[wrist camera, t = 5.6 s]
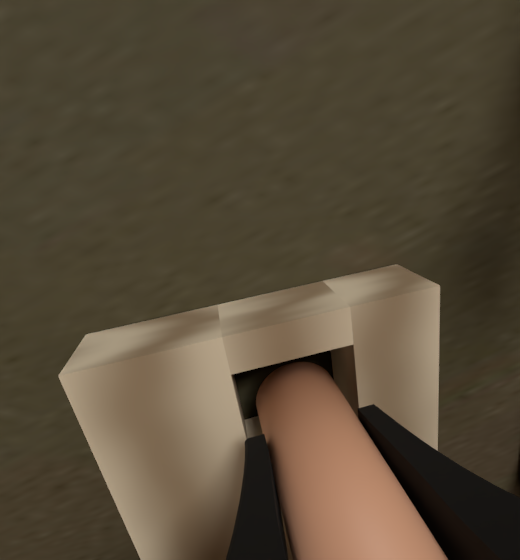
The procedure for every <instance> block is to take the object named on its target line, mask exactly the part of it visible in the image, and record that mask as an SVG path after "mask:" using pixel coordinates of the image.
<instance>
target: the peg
mask: <svg viewBox="0 0 520 560" xmlns="http://www.w3.org/2000/svg"><path fill="white" fill-rule="evenodd" d="M256 407H257V412H258V416H259V420H260V424H261V428H262V432H263V434H264V435H265V439H266V443H267V447H268V451H269V455H270V460H271V465H272V469H273V475H274V481H275V486H276V490H277V494H278V499H279V503H280V507H281V511H282V515H283V519H284V524H285V528H286V532H287V536H288V540H289V544H290V548H291V553H292V557H293V560H448V558H447V557H446V555H445V554H444V552H443V550H442V549H441V547H440V546H439V544H438V543H437V541H436V539H435V538H434V536H433V535H432V533H431V532H430V530H429V528H428V527H427V525H426V524H425V522H424V521H423V519H422V518H421V516H420V514H419V513H418V511H417V510H416V508H415V507H414V505H413V503H412V502H411V500H410V499H409V497H408V496H407V494H406V492H405V491H404V489H403V488H402V486H401V485H400V483H399V482H398V480H397V478H396V477H395V475H394V474H393V472H392V471H391V469H390V467H389V466H388V464H387V463H386V461H385V460H384V458H383V457H382V455H381V453H380V452H379V450H378V449H377V447H376V446H375V444H374V442H373V441H372V439H371V438H370V436H369V435H368V433H367V431H366V430H365V428H364V427H363V425H362V424H361V422H360V421H359V419H358V417H357V416H356V414H355V413H354V411H353V410H352V408H351V406H350V405H349V403H348V402H347V400H346V399H345V397H344V395H343V394H342V392H341V391H340V389H339V388H338V386H337V385H336V383H335V381H334V380H333V378H332V377H331V375H330V374H329V373H328V372H327V371H326V370H325V369H324V368H323V367H321V366H319V365H317V364H314V363H311V362H293V363H289V364H286V365H283V366H281V367H279V368H277V369H276V370H274V371H273V372H272V373H270V374H269V375H268V376H267V377H266V378H265V379H264V381H263V382H262V384H261V385H260V387H259V390H258V392H257V396H256Z"/></svg>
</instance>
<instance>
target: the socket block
mask: <svg viewBox="0 0 520 560" xmlns="http://www.w3.org/2000/svg"><path fill="white" fill-rule="evenodd" d="M439 325H440V285H438V284H436V283H434V282H432V281H430V280H428V279H426V278H424V277H422V276H420V275H417V274H415V273H413V272H411V271H409V270H407V269H405V268H403V267H401V266H399V265H397V264H396V265H391V266H387V267H382V268H378V269H373V270H369V271H365V272H360V273H356V274H351V275H347V276H342V277H338V278H334V279H329V280H325V281H320V282H316V283H311V284H307V285H303V286H298V287H294V288H289V289H285V290H281V291H276V292H272V293H267V294H263V295H258V296H254V297H250V298H245V299H241V300H236V301H232V302H227V303H223V304H219V305H214V306H210V307H205V308H201V309H196V310H192V311H188V312H183V313H179V314H174V315H170V316H165V317H161V318H157V319H152V320H148V321H143V322H139V323H135V324H130V325H126V326H121V327H117V328H112V329H108V330H104V331H99V332H95V333H90V334H86V335H85V337H84V338H83V340H82V341H81V343H80V344H79V346H78V347H77V349H76V350H75V352H74V353H73V355H72V356H71V358H70V359H69V361H68V362H67V364H66V365H65V367H64V368H63V370H62V371H61V373H60V374H59V376H58V377H59V379H60V381H61V383H62V386H63V388H64V390H65V392H66V394H67V397H68V399H69V401H70V403H71V406H72V408H73V410H74V412H75V415H76V417H77V419H78V421H79V423H80V426H81V428H82V430H83V432H84V435H85V437H86V439H87V441H88V443H89V446H90V448H91V450H92V452H93V455H94V457H95V459H96V461H97V463H98V466H99V468H100V470H101V472H102V475H103V477H104V479H105V481H106V483H107V486H108V488H109V490H110V492H111V495H112V497H113V499H114V501H115V503H116V506H117V508H118V510H119V512H120V515H121V517H122V519H123V521H124V523H125V526H126V528H127V530H128V532H129V535H130V537H131V539H132V541H133V543H134V546H135V548H136V550H137V552H138V555H139V557H140V559H141V560H226V557H227V553H228V549H229V546H230V542H231V538H232V534H233V530H234V525H235V520H236V516H237V511H238V506H239V501H240V495H241V488H242V481H243V474H244V463H245V441H246V439H247V438H250V437H254V436H258V435H262V434H263V432H262V428H261V424H260V420H259V416H257V417H253V418H249V419H246V420H245V419H244V415H243V411H242V407H241V402H240V398H239V394H238V389H237V385H236V381H235V377H234V374H236V373H240V372H244V371H248V370H252V369H256V368H260V367H265V366H269V365H273V364H277V363H281V362H285V361H289V360H293V359H297V358H301V357H305V356H309V355H313V354H317V353H321V352H325V351H329V350H330V351H331V360H332V369H333V378H334V381H335V383H336V385H337V386H338V388H339V389H340V391H341V392H342V394H343V395H344V397H345V399H346V400H347V402H348V403H349V405H350V406H351V408H352V410H353V411H354V413H355V414H356V416H357V417H358V408H361V407H365V406H369V405H372V404H374V405H376V406H377V407H378V408H380V409H381V410H382V411H383V412H385V413H386V414H387V415H389V416H390V417H391V418H393V419H394V420H395V421H396V422H398V423H399V424H400V425H402V426H403V427H404V428H406V429H407V430H408V431H410V432H411V433H413V434H414V435H415V436H417V437H418V438H420V439H421V440H422V441H424V442H425V443H427V444H428V445H430V446H431V447H432V448H434V449H435V450H437V451H438V392H439ZM281 513H282V511H281ZM282 519H283V515H282ZM283 526H284V532H285V539H286V546H287V552H288V559H289V560H293V557H292V553H291V548H290V544H289V540H288V536H287V532H286V528H285V524H284V519H283Z"/></svg>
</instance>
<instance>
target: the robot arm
mask: <svg viewBox="0 0 520 560" xmlns="http://www.w3.org/2000/svg"><path fill="white" fill-rule="evenodd" d="M358 419H359V421H360V422H361V424H362V425H363V427H364V428H365V430H366V431H367V433H368V435H369V436H370V438H371V439H372V441H373V442H374V444H375V446H376V447H377V449H378V450H379V452H380V453H381V455H382V457H383V458H384V460H385V461H386V463H387V464H388V466H389V467H390V469H391V471H392V472H393V474H394V475H395V477H396V478H397V480H398V482H399V483H400V485H401V486H402V488H403V489H404V491H405V492H406V494H407V496H408V497H409V499H410V500H411V502H412V503H413V505H414V507H415V508H416V510H417V511H418V513H419V514H420V516H421V518H422V519H423V521H424V522H425V524H426V525H427V527H428V528H429V530H430V532H431V533H432V535H433V536H434V538H435V539H436V541H437V543H438V544H439V546H440V547H441V549H442V550H443V552H444V554H445V555H446V557H447V558H448V560H520V498H519V497H517V496H515V495H513V494H511V493H509V492H507V491H505V490H503V489H501V488H499V487H497V486H495V485H493V484H492V483H490V482H488V481H486V480H484V479H483V478H481V477H479V476H477V475H475V474H474V473H472V472H470V471H469V470H467V469H465V468H464V467H462V466H460V465H459V464H457V463H455V462H454V461H452V460H451V459H449V458H448V457H446V456H444V455H443V454H441V453H440V452H438V451H437V450H435V449H434V448H432V447H431V446H430V445H428V444H427V443H425V442H424V441H422V440H421V439H420V438H418V437H417V436H415V435H414V434H413V433H411V432H410V431H408V430H407V429H406V428H404V427H403V426H402V425H400V424H399V423H398V422H396V421H395V420H394V419H393V418H391V417H390V416H389V415H387V414H386V413H385V412H383V411H382V410H381V409H380V408H378V407H377V406H376V405H374V404H372V405H369V406H365V407H361V408H358ZM226 560H289V559H288V552H287V546H286V539H285V532H284V526H283V519H282V513H281V507H280V503H279V499H278V494H277V490H276V486H275V481H274V475H273V469H272V465H271V460H270V455H269V451H268V447H267V443H266V439H265V435H264V434H262V435H258V436H254V437H250V438H247V439H246V441H245V463H244V474H243V481H242V488H241V495H240V501H239V506H238V511H237V516H236V520H235V525H234V530H233V534H232V538H231V542H230V546H229V549H228V553H227V557H226Z"/></svg>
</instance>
